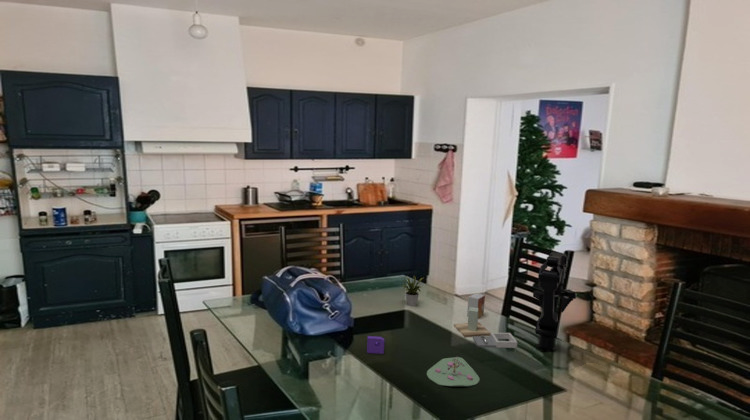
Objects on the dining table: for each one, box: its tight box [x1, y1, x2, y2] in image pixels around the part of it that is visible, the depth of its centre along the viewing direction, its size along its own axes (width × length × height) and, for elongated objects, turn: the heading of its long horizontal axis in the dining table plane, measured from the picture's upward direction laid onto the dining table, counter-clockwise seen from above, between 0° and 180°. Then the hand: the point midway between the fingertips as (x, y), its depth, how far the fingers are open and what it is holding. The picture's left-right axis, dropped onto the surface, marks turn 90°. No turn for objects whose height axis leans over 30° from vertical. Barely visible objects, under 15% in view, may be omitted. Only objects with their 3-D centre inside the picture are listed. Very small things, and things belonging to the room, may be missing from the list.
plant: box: [426, 355, 480, 387], centre depth 191 cm, size 25×21×9 cm
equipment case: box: [472, 332, 518, 349], centre depth 218 cm, size 17×10×2 cm, turn 93°
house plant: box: [400, 274, 424, 307], centre depth 261 cm, size 14×14×16 cm
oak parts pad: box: [453, 322, 491, 338], centre depth 231 cm, size 13×13×1 cm
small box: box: [466, 292, 486, 319], centre depth 249 cm, size 8×6×10 cm
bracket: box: [366, 335, 386, 355], centre depth 210 cm, size 12×7×7 cm, turn 177°
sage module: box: [467, 307, 479, 331], centre depth 230 cm, size 4×5×10 cm
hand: (552, 312), depth 227 cm, fingers open, 9 cm apart
